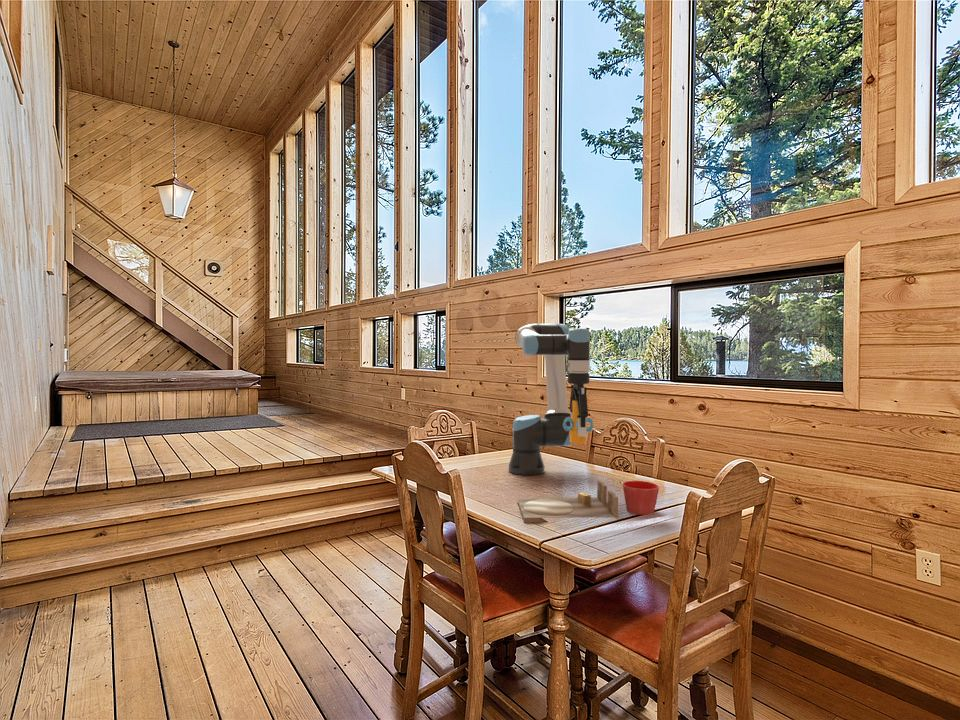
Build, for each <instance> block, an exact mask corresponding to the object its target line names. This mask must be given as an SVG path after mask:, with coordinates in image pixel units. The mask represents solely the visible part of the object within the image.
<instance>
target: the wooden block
mask: <svg viewBox="0 0 960 720" xmlns="http://www.w3.org/2000/svg"><path fill="white" fill-rule="evenodd" d="M577 498H578V502H579V503H581V504H583V505H590V504H591V498H592V495H591V494H589V493H587V492H584V491H581V492H577Z"/></svg>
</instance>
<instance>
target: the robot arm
mask: <svg viewBox="0 0 960 720" xmlns="http://www.w3.org/2000/svg"><path fill="white" fill-rule="evenodd" d="M514 340H515V343H516V345H517V346H518V347H520V348H521V349H522V352H523V354H524V355H526V356H527V355H528V356H538V355H539V356H543V357H544V361H545V363H544V364H545V381H546V382H545V383H546V386H545V387H546V403H547V405H546V406H547V411H546V412H545V414H544V415H543V417H544V418H542V417H541V415H540V414H529V415H523V416H518V417H516V418H514V420H513V422H512V454H511V457H510V460H509V464H508V472H509V473H511V474H513V475H514V474H515V475H520V476H535V475H542V474H544V473H545V463H544V460H543V458H542V454H541V447H568V446H569V447H570V446H572V445H573V443H570V442H569V433H570V431H566V430H565V429H564V428H563V423H564V420H565V418H567V417H570V418H572V405H573V400H576V401H577V405H578V412H579V415H578V416H577V418H578V437H586V427H587V422H586V418H589V411H588V410H589V409H588V408H589V407H588V398H587V396H588V395H587V391H588V389H587V388H586V387H585V385H587V384H590V373H589V372H590V368H591V364H590V363H591V362H590V352H591V351H590V347H591V346H590V344H591V343H590V341H591V336H590V330H589V329H588V328H569V326H568V325H567V324H564V323H531V324H526V325H523V326H521V327H519V328H518V329H517V331H516V332H515V335H514ZM566 356H567V362H566V359H565V358H566ZM566 366H567V371H568V373H566ZM566 374H567V375H566ZM567 383H568V384H570V397H569V398H570V399H569V408H568V392H567V390H568V389H567ZM566 425H567V426H568V427H570V426H571V425H572V424H571V422H570V421H567V422H566Z"/></svg>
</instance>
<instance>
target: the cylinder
mask: <svg viewBox="0 0 960 720" xmlns="http://www.w3.org/2000/svg"><path fill="white" fill-rule="evenodd" d="M571 413H572V418H570V417H567V418H565V420H564V423H563V428H564V429H565V430H566V431H570V433H569V442H570V443H573V444H575V445H584V444H587V436H588V435H587V434H588V433H589V432H592V431H593V428H594V421H593V419H592V418H590V417H587V418H586V423H589V424H590V425H589V427H587V426H586V437H578V418H577V416H578V415H579V412H578V405H577V401H576V400H573V405H572V412H571ZM567 421H570V422H571V424H572V425H571V426H570V427H568V426H567V425H566V422H567ZM587 432H588V433H587ZM573 444H572V445H573Z"/></svg>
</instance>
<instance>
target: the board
mask: <svg viewBox="0 0 960 720" xmlns="http://www.w3.org/2000/svg"><path fill="white" fill-rule="evenodd" d="M596 481H597V482H596V483H597V485H596V486H597V487H596V491H597V492H596V494H597V495H596V496H597V497H591V504H590V505H583V504H581V503H579V502H578V497H531V498H529V497H524V498H523V497H520V498H516V500H517V502H516V503H517V506H518V509H519V512H520V515H521V517H522V521H523V523H524V524H525V523H527V524H529V523H531V524H533V523H534V524H535V523H536V524H537V523H548V520H546V519H545V518H547V519H548V518H551V519H552V518H553V519H554V518H555V519H556V518H561V519H562V518H565V519H566V518H620V516H619V497H618V495H616V494H615V493H614V491H613V490H610V489H609V490H608V485H606V484H605V483H604V482H603V481H602V480H601V479H598V480H596Z"/></svg>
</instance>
